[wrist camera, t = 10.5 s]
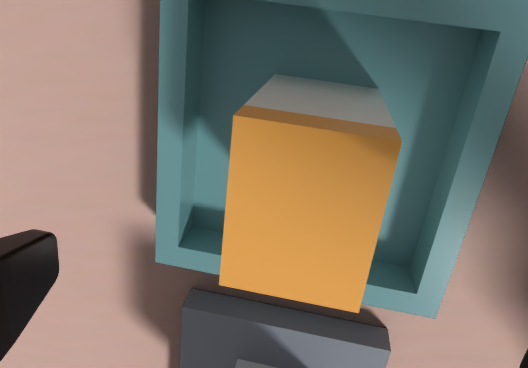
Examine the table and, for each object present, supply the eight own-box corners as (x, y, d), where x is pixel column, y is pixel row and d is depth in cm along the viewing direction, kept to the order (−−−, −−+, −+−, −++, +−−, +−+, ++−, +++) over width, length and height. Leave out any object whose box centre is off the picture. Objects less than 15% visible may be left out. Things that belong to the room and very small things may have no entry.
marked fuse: (378, 88, 16) (402, 141, 10) (353, 206, 18) (358, 313, 12) (275, 73, 17) (233, 115, 10) (261, 189, 19) (218, 285, 12)
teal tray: (516, 1, 15) (547, 0, 13) (424, 282, 20) (435, 319, 17) (186, -39, 16) (160, -46, 14) (175, 234, 21) (155, 262, 19)
